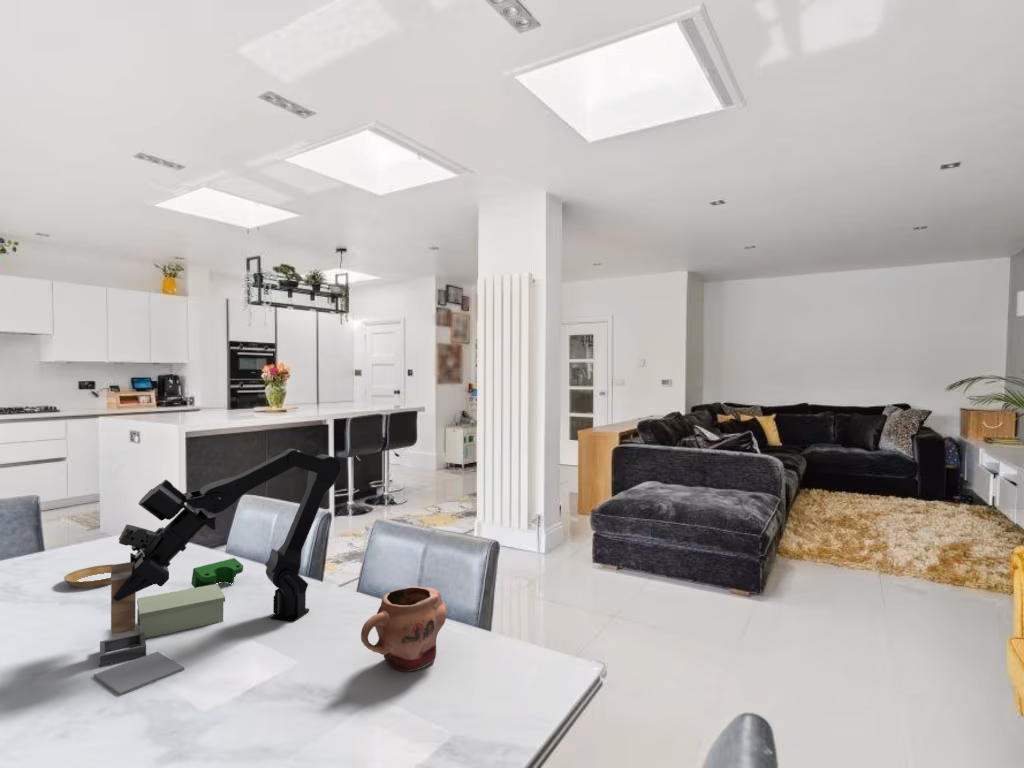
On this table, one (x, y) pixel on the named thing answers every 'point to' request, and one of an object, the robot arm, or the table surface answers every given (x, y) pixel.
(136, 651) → the dark grey square frame
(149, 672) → the mat
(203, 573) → the clamp
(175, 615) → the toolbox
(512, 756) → the table surface
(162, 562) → the robot arm
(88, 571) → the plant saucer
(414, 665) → the terracotta mug
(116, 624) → the banded wooden block
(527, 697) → the table surface
